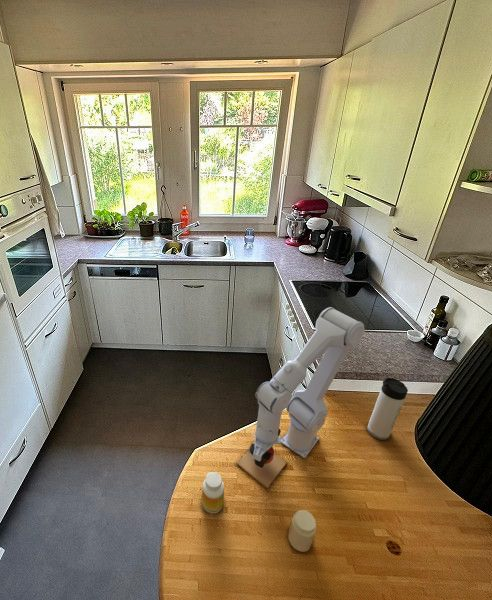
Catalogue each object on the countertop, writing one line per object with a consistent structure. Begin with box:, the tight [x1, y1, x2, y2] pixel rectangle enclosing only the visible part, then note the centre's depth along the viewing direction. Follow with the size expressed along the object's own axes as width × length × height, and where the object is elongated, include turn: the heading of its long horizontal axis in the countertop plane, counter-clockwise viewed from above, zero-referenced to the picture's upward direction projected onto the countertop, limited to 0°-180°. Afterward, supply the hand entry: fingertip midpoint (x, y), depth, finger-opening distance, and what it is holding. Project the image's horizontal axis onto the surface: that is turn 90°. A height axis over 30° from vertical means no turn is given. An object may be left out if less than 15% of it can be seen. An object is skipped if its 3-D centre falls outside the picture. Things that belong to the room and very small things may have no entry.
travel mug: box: [366, 377, 409, 441], centre depth 97 cm, size 6×7×20 cm
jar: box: [287, 509, 317, 553], centre depth 73 cm, size 5×5×8 cm
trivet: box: [236, 449, 287, 489], centre depth 92 cm, size 10×10×1 cm
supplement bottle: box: [201, 471, 225, 514], centre depth 80 cm, size 5×5×10 cm
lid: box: [265, 446, 275, 464], centre depth 90 cm, size 6×6×2 cm
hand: (262, 456), depth 91 cm, fingers closed on lid, 5 cm apart
